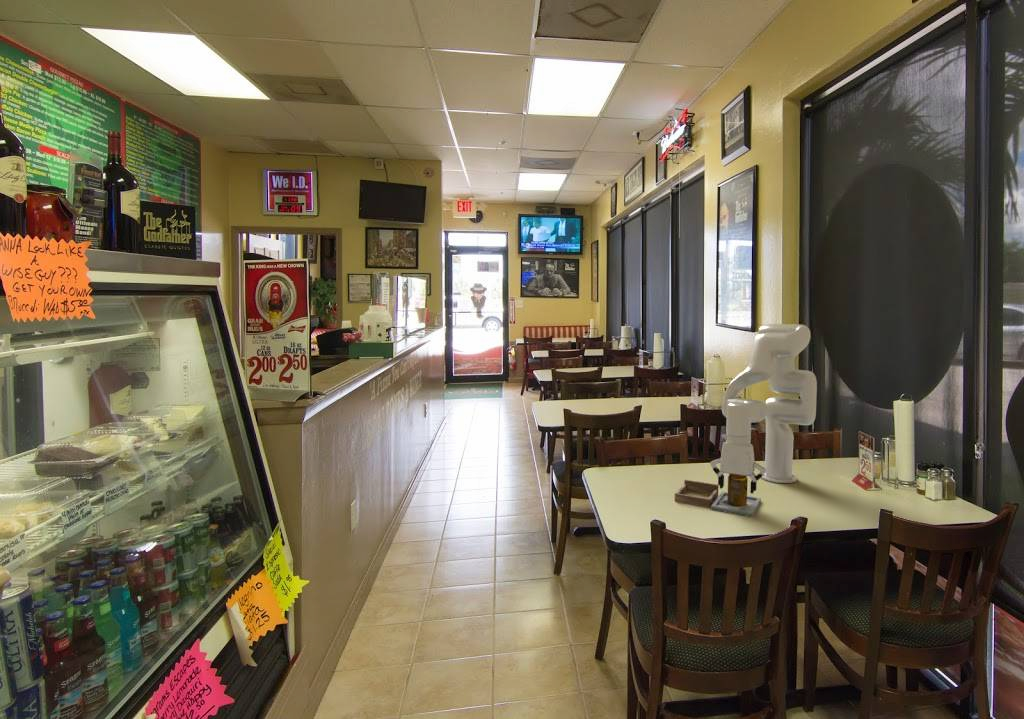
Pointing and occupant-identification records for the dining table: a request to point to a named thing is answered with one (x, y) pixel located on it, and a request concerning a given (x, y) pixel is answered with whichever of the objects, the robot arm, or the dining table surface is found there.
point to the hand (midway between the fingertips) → (736, 489)
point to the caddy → (697, 488)
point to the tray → (744, 511)
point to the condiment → (736, 492)
